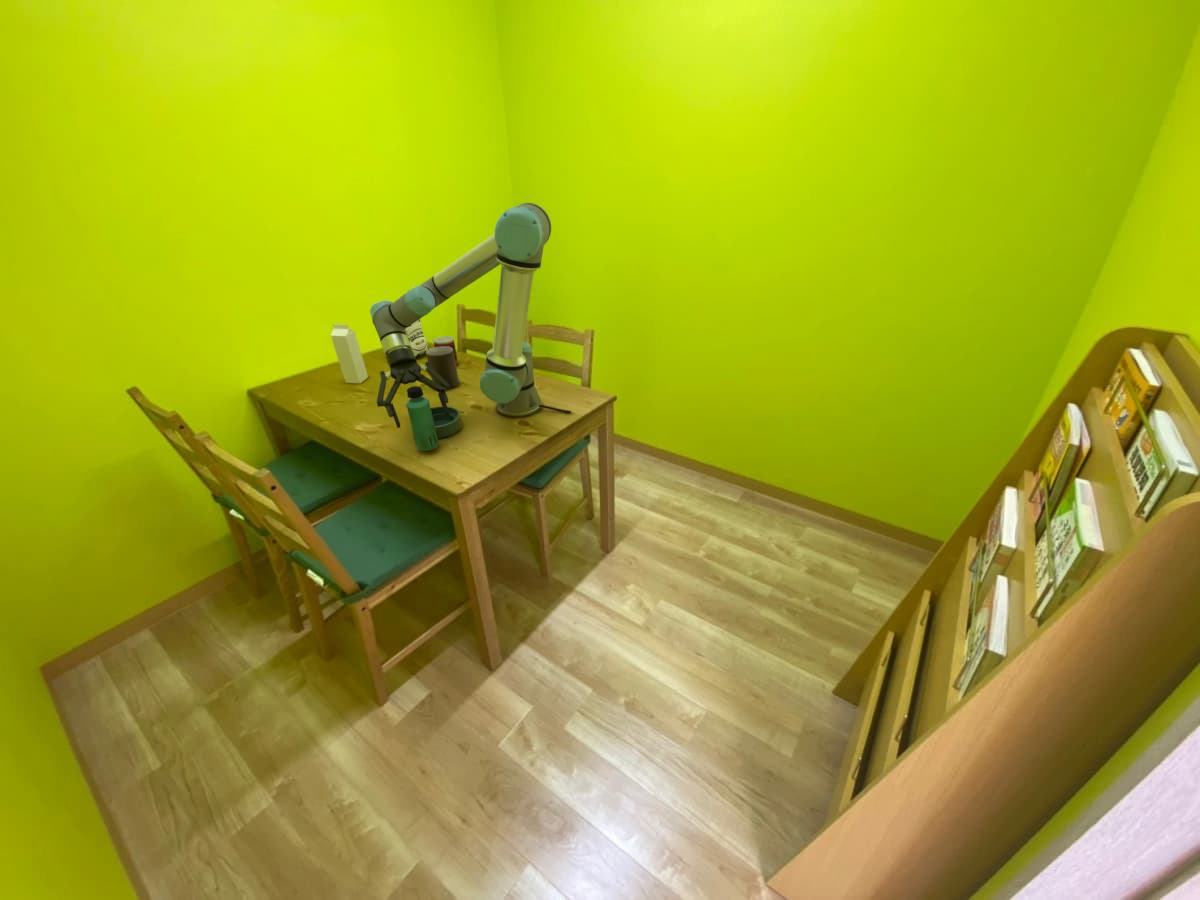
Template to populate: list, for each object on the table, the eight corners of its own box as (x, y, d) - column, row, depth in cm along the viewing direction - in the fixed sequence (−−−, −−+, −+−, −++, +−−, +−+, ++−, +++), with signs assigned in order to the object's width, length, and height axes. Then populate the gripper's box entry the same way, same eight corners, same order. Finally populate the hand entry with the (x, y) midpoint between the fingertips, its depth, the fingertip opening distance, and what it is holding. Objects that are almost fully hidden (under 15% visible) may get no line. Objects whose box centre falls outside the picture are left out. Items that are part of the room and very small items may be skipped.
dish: (466, 417, 159) (464, 405, 156) (456, 439, 147) (454, 427, 144) (423, 418, 159) (420, 406, 156) (410, 440, 147) (407, 428, 144)
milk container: (428, 360, 202) (419, 318, 193) (385, 364, 199) (373, 322, 189) (430, 346, 217) (422, 307, 207) (390, 350, 213) (380, 310, 204)
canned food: (440, 362, 201) (435, 336, 195) (459, 361, 202) (454, 335, 196) (436, 369, 195) (431, 343, 189) (456, 368, 195) (452, 342, 189)
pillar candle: (449, 392, 176) (441, 353, 168) (427, 388, 179) (419, 349, 171) (464, 381, 184) (458, 344, 176) (443, 378, 187) (436, 341, 179)
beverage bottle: (433, 456, 139) (419, 394, 128) (412, 454, 140) (396, 392, 129) (444, 445, 144) (431, 384, 134) (424, 442, 145) (409, 382, 135)
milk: (360, 383, 183) (343, 327, 171) (345, 383, 183) (327, 327, 171) (368, 377, 188) (352, 322, 176) (354, 376, 189) (337, 321, 177)
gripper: (441, 350, 147) (465, 413, 144) (353, 368, 135) (377, 436, 133) (443, 338, 140) (468, 403, 137) (351, 356, 129) (376, 427, 126)
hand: (423, 419), depth 135 cm, fingers open, 13 cm apart
